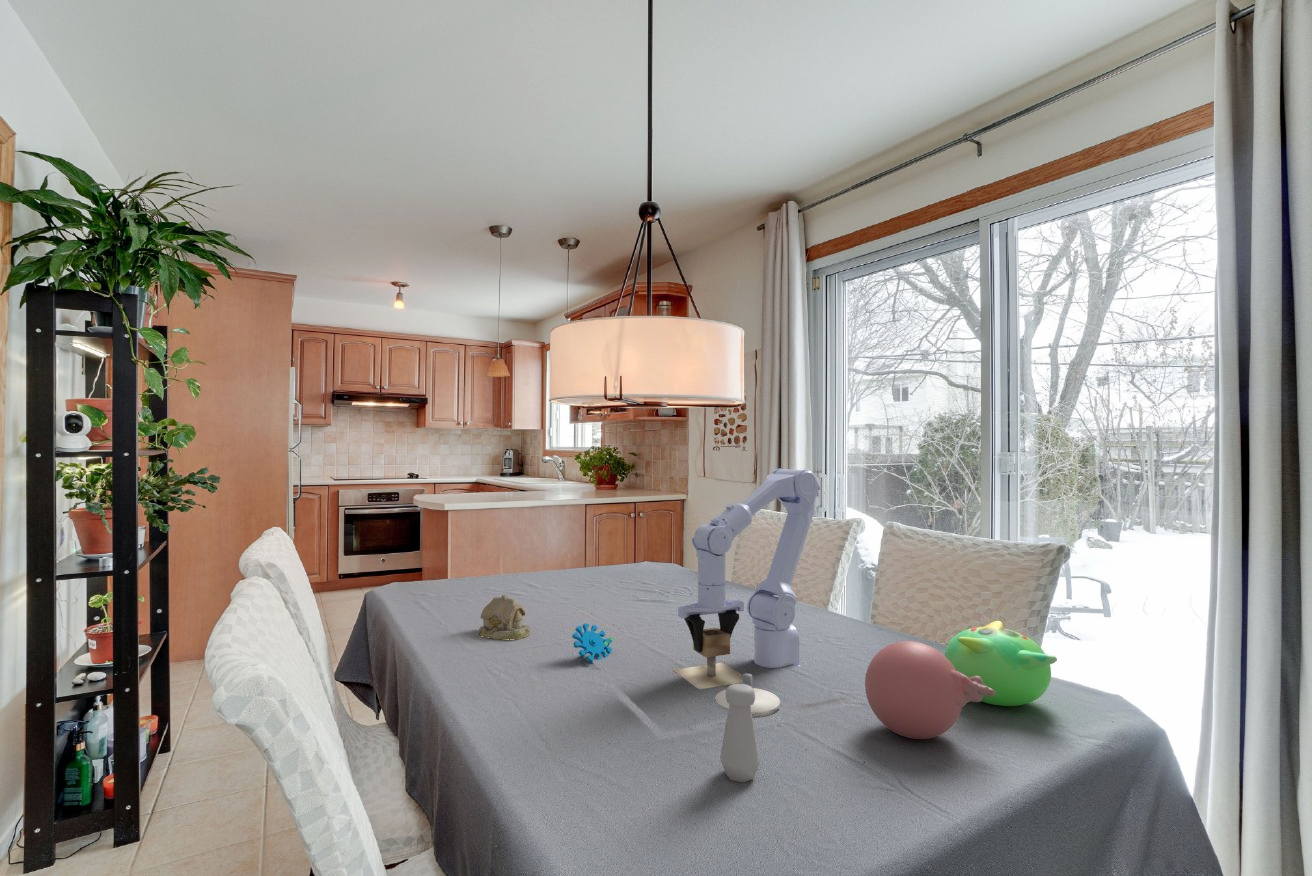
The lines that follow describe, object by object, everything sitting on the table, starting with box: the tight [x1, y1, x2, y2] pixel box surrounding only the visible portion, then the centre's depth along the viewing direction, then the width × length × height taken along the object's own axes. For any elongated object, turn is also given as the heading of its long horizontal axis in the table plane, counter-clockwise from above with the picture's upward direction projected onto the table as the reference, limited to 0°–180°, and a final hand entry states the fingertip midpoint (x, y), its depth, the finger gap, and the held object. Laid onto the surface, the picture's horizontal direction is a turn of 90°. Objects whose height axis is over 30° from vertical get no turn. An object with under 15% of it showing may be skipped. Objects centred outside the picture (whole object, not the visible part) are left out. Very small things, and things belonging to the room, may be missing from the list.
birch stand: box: [672, 656, 743, 690], centre depth 135 cm, size 12×12×6 cm
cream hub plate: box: [714, 673, 781, 719], centre depth 122 cm, size 12×12×6 cm
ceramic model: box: [478, 594, 531, 641], centre depth 168 cm, size 14×11×10 cm
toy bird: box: [944, 620, 1058, 707], centre depth 123 cm, size 18×17×15 cm
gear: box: [571, 622, 615, 664], centre depth 148 cm, size 11×6×10 cm
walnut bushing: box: [692, 627, 731, 659], centre depth 135 cm, size 6×6×4 cm
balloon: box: [864, 640, 995, 740], centre depth 108 cm, size 15×20×15 cm
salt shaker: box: [719, 683, 761, 783], centre depth 96 cm, size 6×6×13 cm
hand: (711, 648), depth 135 cm, fingers closed on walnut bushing, 6 cm apart
